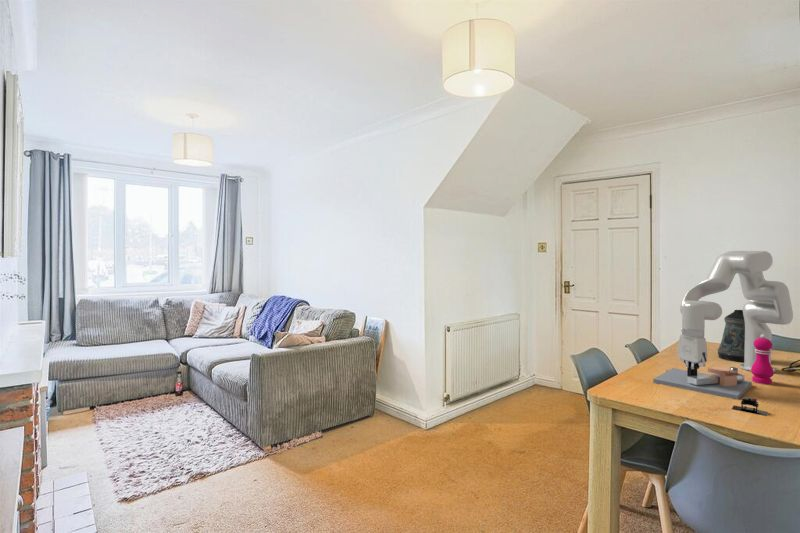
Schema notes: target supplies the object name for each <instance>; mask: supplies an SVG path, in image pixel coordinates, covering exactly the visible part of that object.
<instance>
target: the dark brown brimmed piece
mask: <svg viewBox="0 0 800 533" xmlns="http://www.w3.org/2000/svg"><path fill="white" fill-rule="evenodd" d="M740 404H741V405H740V406H739V405H733V406H732V408H731V410H734V411H739V412H743V413H748V414H754V415H759V416H764V417H768V416H769V411H766V410H762V409H761V410H760V409H759V405H760V404H759V402H758V400H757V398H753V397H748V396H743V397H742V399H741V402H740ZM748 406H749V407H748ZM750 406H751V407H750Z"/></svg>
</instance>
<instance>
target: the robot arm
mask: <svg viewBox="0 0 800 533" xmlns="http://www.w3.org/2000/svg"><path fill="white" fill-rule="evenodd" d="M772 265H773V256H772V254H771V253H770V252H768V251H766V250H730V251H727V252H724V253H722V254H719V256H717V257H716V259H715V261H714V263H713V264H712V267H711V269H710V271H709V273H708V275H707V277H706V279H704V280H702V281H700V282H698V283H697V284H695V285H694V286H692V287H691V288H690V289H688V290H687V292H686V293H685V295H684V297H683V298H682V301H681V303H680V307H679V309H680V310H679V311H680V313H681V315H682V316H681V329H680V331H681V334H680V336H679V339H678V344H677V357H678V359H679V360H680V361H681V362H683V363H684V364H685V367H686V368H687V369H686V370H687V377H688V376H697V372H698V369H700V367H706V362H707V360H708V346H707V339H706V337H705V321H717V320H718V319H719V318H721V316H722V314H723V309H722V307H721V305H720V304H718V303H717V302H713V301H705V300H700V299H702V298H704V297H706V296H709V295H714V294H718V293H721V292H724V291H726V290H728V289H729V288H730V286H731V284H732V282H733V280H734V279H735V276H736V274H737V275H738V278H739V281H740V287H741V290H742V295H743V296H744V298H745V299H746V300H748V302H746V303H745V304H743V306H742V310H743V316H744V321H745V350H744V363H741V364H740V365H739V368H740V369H743V370H745V371H749V372H751V368H752V365H753V364H754V362H755V360H756V353H755V349H756V348H755V346H754V341H755V340H756V339H758V338H761V337H760V336H761V335H762V334H764V335H765V336H766V339H768V340H770V341H771V342H772V337H773V335H772V331H771V329H770V327H769V326H768V325H767V324H772V325H780V326H782V325H783V326H784V325H785V326H786V325H789V324H791V322H792V321H793V318H794V310H793V305H792V301H791V300H792V299H791V296H790V290H789V288H788V286H787V285H786V283H784V282H782V281H776V280H766V279H765V276H764V272H765V271H768V270H769V269H770V268H771V267H772ZM770 351H771V352H770V353H771V354H769V362H770V364H771V365H772V348H771V349H770ZM772 368H773V372H774V373H776V369H775V368H774V367H772Z"/></svg>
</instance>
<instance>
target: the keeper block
mask: <svg viewBox="0 0 800 533" xmlns="http://www.w3.org/2000/svg"><path fill="white" fill-rule="evenodd" d="M707 372H708V373H710V374H711V373H712V374H718V375H720V385H722V386H735V385H737V372H736V371H732V370H730V368H729V369H728V368H725V367H720V366H718V367H717V366H714V367H707Z"/></svg>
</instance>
